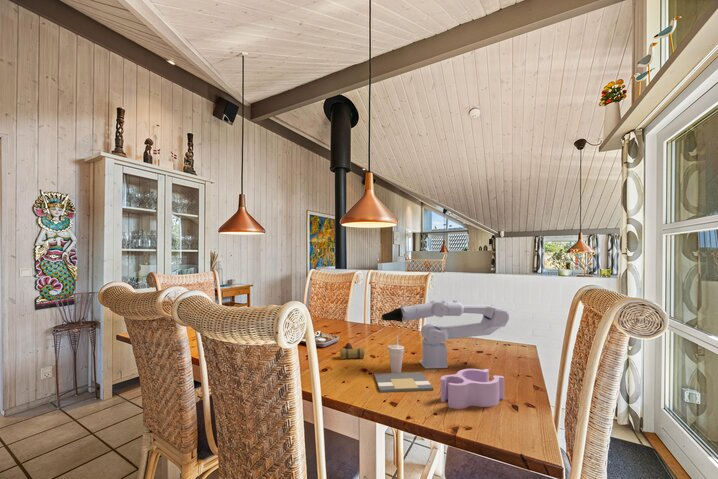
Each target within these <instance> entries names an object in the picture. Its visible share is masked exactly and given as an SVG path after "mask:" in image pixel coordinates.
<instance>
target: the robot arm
mask: <svg viewBox="0 0 718 479" xmlns="http://www.w3.org/2000/svg"><path fill="white" fill-rule="evenodd" d="M400 306H401V307H399V308H394V309H393V310H391V311H389V312H386V313H384V314H381V319H382V321H387V322H388V321H389V322H390V321H391V322H392V321H393V322H394V321H395V322H399V323H403V322H405V323H406V322H409V321H414V320H415V321H416V320H420V319H421V320H422V319H425V318H431V317H434V316H435V317H438V318H443V317H444V316H445V317H459V316H460V317H461V315H462V314H475V315H477V314H478V315H482V318H481V321H480V322H477V323H467V324H466V323H465V324H464V323H463V324H458V325H457V324H455V325H446V326H442V325H433V324H430V323H429V324H425V325H422V328H421V331H420V334H421V335H422V337H423V340H422V341H421V342H422V360H419V364H420V365H421V366H422V367H423V368H424V369H426V370H427V369H428V370H429V369H448V349H447V344H445V343H444V342H447V340H452V339H462V338H471V337H480V336H481V337H482V336H490V335H492V334H493V333H495V332H496V331H498V330H499V329H501V328H504V327H505V326H507V323H508V322H509V319H510V315H509V312H508V311H507V310H505V309H504V308H500V307H497V306H495V305H492V304H491V305H489V304H462V303H461V302H460V301H458V300H455V299H454V300H452V301H446V300H443V299H442V300H441V301H438V300H434V299H433V300H431V301H430V302H426V303H419V304H414V305H408V306H405V305H404V303H402V304H400Z"/></svg>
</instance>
